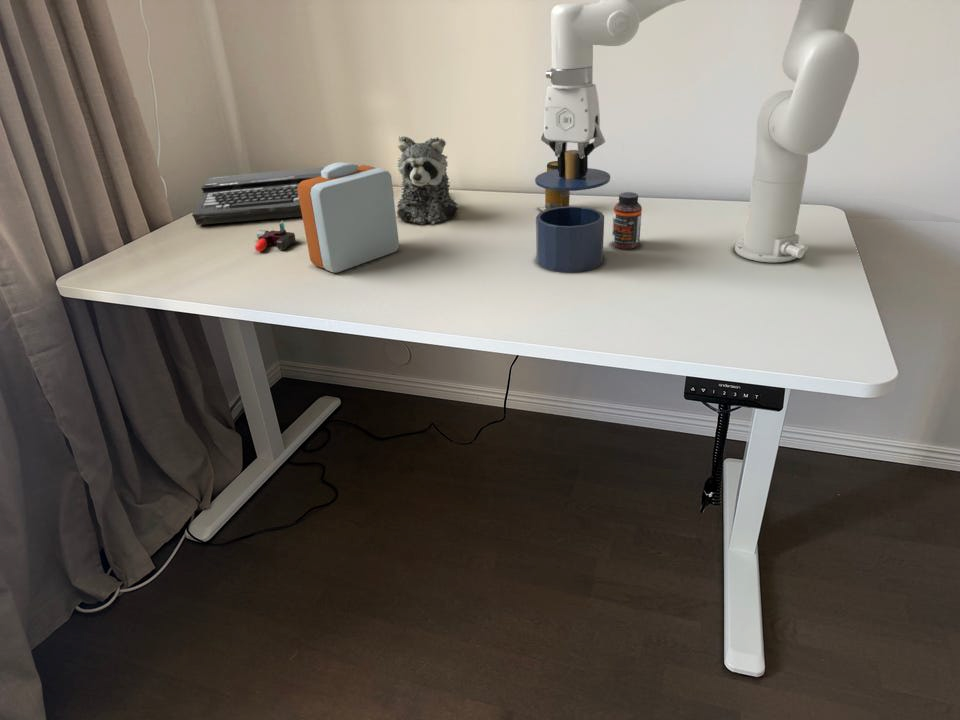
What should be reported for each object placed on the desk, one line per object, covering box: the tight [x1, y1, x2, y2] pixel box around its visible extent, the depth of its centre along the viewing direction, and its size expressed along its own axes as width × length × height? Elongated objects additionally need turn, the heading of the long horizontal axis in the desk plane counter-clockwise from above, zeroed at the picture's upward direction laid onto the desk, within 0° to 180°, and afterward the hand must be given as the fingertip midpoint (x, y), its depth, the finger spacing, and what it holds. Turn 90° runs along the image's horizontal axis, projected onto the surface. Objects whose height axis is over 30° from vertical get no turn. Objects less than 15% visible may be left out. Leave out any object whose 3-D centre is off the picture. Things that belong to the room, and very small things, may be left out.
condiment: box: [539, 160, 571, 212], centre depth 173 cm, size 7×8×12 cm
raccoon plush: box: [396, 136, 459, 226], centre depth 176 cm, size 15×32×21 cm, turn 14°
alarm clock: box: [297, 161, 400, 274], centre depth 149 cm, size 18×9×21 cm, turn 134°
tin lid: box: [534, 149, 611, 192], centre depth 137 cm, size 15×15×6 cm
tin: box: [535, 205, 605, 273], centre depth 144 cm, size 14×14×10 cm
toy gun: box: [254, 220, 297, 252], centre depth 163 cm, size 10×12×5 cm
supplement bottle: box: [611, 191, 643, 250], centre depth 150 cm, size 6×6×11 cm
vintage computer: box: [191, 164, 359, 226], centre depth 190 cm, size 43×29×8 cm
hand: (572, 175), depth 138 cm, fingers closed on tin lid, 3 cm apart
